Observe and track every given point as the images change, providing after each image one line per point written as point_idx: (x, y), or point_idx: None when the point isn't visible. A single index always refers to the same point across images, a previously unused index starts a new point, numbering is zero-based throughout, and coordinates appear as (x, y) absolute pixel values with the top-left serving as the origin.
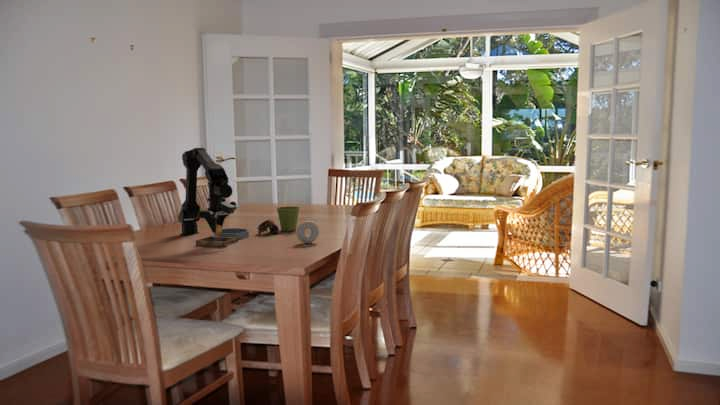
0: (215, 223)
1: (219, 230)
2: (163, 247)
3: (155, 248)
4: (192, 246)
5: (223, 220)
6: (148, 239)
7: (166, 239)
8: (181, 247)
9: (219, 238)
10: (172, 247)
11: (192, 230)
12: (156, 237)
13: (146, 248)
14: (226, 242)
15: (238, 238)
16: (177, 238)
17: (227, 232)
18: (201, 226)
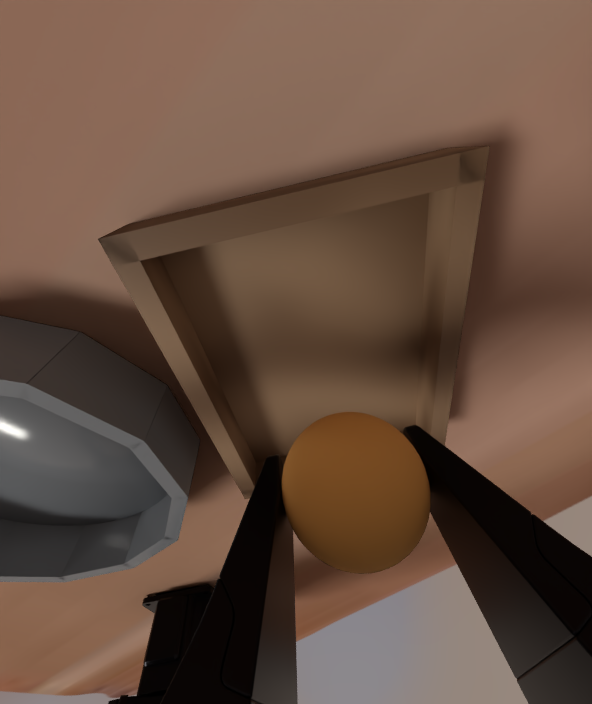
0: (563, 566)
1: (377, 424)
2: (516, 490)
3: (545, 495)
4: (459, 421)
5: (212, 667)
6: (366, 597)
7: (336, 577)
8: (503, 441)
9: (229, 426)
10: (510, 468)
11: (190, 618)
12: (321, 605)
13: (548, 513)
14: (428, 158)
15: (29, 336)
16: (294, 573)
17: (7, 539)
18: (36, 658)
